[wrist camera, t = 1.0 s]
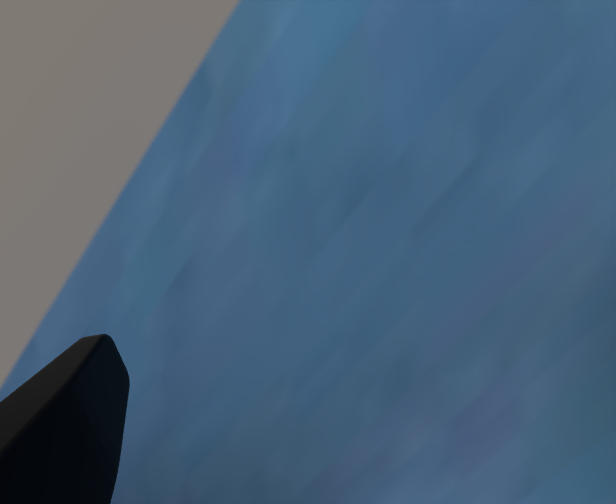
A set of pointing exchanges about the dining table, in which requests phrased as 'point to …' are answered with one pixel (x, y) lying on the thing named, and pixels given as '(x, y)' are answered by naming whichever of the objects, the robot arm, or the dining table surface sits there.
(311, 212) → the dining table surface
